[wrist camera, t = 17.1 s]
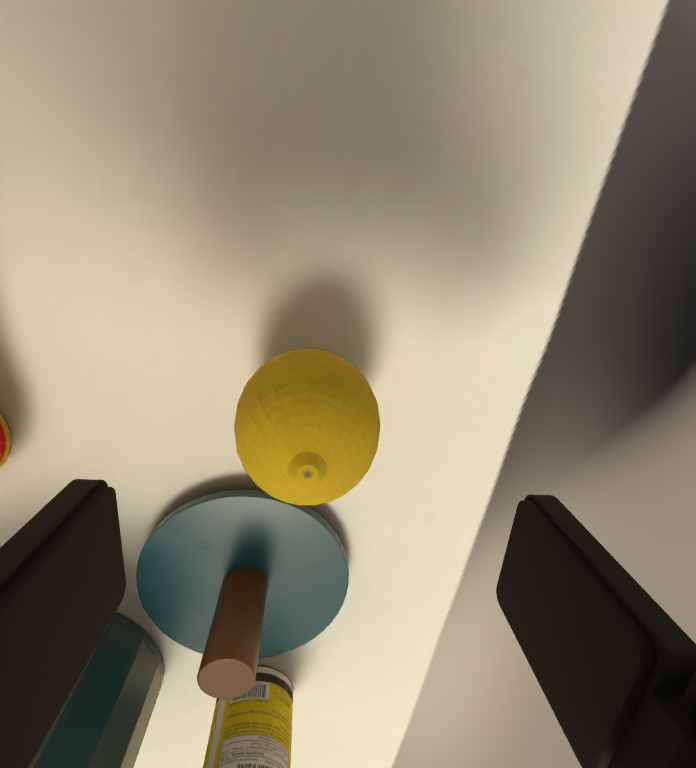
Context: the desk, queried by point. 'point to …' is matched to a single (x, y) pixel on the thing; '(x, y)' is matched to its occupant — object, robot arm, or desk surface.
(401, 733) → the desk surface
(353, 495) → the desk surface
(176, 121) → the desk surface
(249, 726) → the supplement bottle
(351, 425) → the lemon
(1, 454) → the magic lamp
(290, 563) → the lid
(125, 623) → the pot
